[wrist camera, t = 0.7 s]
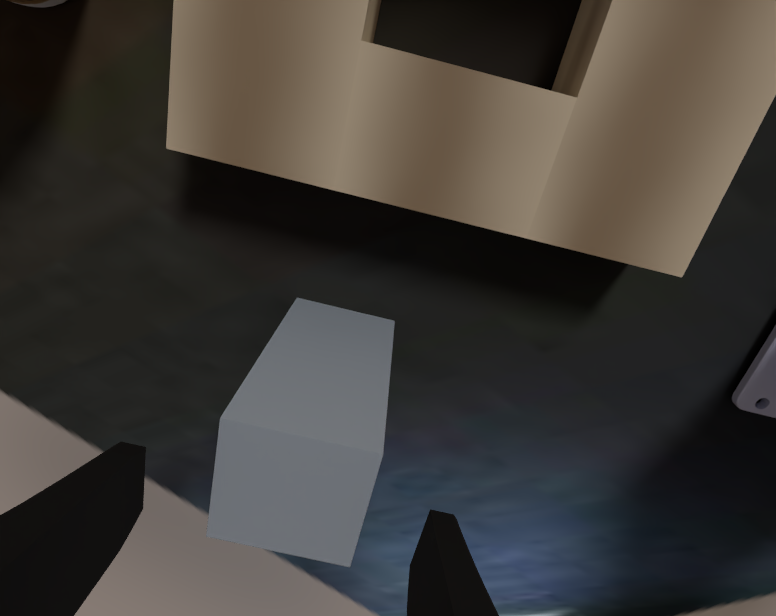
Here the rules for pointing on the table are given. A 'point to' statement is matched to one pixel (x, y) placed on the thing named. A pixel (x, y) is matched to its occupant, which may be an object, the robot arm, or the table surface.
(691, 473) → the table surface
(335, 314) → the peg
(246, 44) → the socket plate
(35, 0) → the pill bottle
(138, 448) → the robot arm
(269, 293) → the table surface
